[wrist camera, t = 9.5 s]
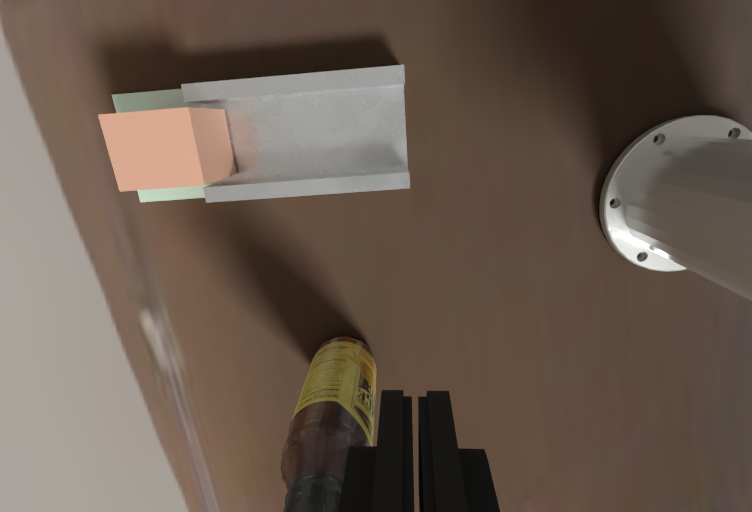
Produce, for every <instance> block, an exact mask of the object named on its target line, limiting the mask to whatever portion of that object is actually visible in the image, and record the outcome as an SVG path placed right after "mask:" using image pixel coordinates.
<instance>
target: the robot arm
mask: <svg viewBox="0 0 752 512" xmlns="http://www.w3.org/2000/svg"><path fill="white" fill-rule="evenodd" d="M654 137H655V139H654ZM653 139H654V141H653ZM611 200H612V202H611V203H610V201H611ZM599 213H600V222H601V226H602V229H603V232H604V234H605V236H606V238H607V240H608V242H609V244H610V245H611V246H612V247H613V248H614V249H615V250H616V252H617V253H619V254H620V255H621V256H623V257H624V258H626V259H627V260H629V261H630V262H632V263H634V264H636V265H638V266H641V267H644V268H647V269H650V270H656V271H664V272H667V271H681V270H685V269H689V270H691V271H693V272H695V273H697V274H699V275H701V276H703V277H705V278H707V279H709V280H711V281H713V282H715V283H717V284H719V285H721V286H723V287H725V288H727V289H729V290H731V291H733V292H735V293H737V294H739V295H741V296H743V297H745V298H747V299H749V300H751V301H752V132H751V131H750V130H748V129H747V128H746V127H745V126H744V125H742V124H740V123H738V122H736V121H734V120H732V119H728V118H724V117H720V116H713V115H695V116H683V117H680V118H676V119H672V120H668V121H666V122H664V123H661V124H659V125H657V126H655V127H653V128H651V129H649V130H648V131H646V132H645V133H643V134H642V135H640V136H639V137H637V138H636V139H635V140H634V141H633V142H632V143H631V144H630V145H629V146H628V147H627V148H625V149H624V151H623V152H622V153H621V154H620V156H619V157H618V158H617V160H616V161H615V162H614V164H613V166H612V167H611V169H610V171H609V173H608V175H607V176H606V179H605V182H604V185H603V188H602V191H601V197H600V203H599ZM418 409H419V508H420V512H500V509H499V505H498V501H497V497H496V493H495V489H494V484H493V480H492V476H491V472H490V468H489V464H488V460H487V456H486V453H485V451H484V449H458V445H457V439H456V433H455V426H454V420H453V414H452V407H451V401H450V395H449V391H427V397H419V399H418ZM338 512H414V479H413V434H412V397H408V396H403V390H382V393H381V405H380V416H379V428H378V439H377V446H350V447H349V451H348V456H347V461H346V467H345V473H344V479H343V485H342V490H341V496H340V502H339V508H338Z"/></svg>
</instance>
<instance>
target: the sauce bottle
mask: <svg viewBox="0 0 752 512" xmlns="http://www.w3.org/2000/svg"><path fill="white" fill-rule="evenodd" d="M375 389H376V365H375V361H374V357H373V355H372V352H371V351H370V349H369V348H368V346H367V345H365V344H364V343H363V342H361V341H358V340H356V339H354V338H351V337H336V338H334V339H330V340H329V341H326V342H324V343H323V344H322V345H321V346H320V348H319V350H318V351H317V353H316V354H315V356H314V358H313V360H312V363H311V366H310V368H309V371H308V374H307V377H306V380H305V383H304V386H303V389H302V391H301V394H300V397H299V400H298V403H297V406H296V409H295V412H294V415H293V417H292V420H291V423H290V427H289V434H288V437H287V440H286V443H285V445H284V448H283V452H282V459H281V472H282V477H283V481H284V482H285V483H286V488H287V490H288V492H287V494H286V498H285V508H284V512H338V508H339V502H340V496H341V490H342V485H343V479H344V473H345V467H346V461H347V456H348V451H349V447H350V446H373V430H374V409H375Z"/></svg>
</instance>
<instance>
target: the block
mask: <svg viewBox="0 0 752 512" xmlns="http://www.w3.org/2000/svg"><path fill="white" fill-rule="evenodd" d="M98 116H99V120H100V123H101V127H102V131H103V134H104V138H105V141H106V145H107V148H108V152H109V155H110V159H111V162H112V166H113V169H114V173H115V176H116V180H117V184H118V187H119V191H120V192H121V191H134V190H148V189H161V188H175V187H188V186H202V185H207V184H210V183H213V182H215V181H218V180H221V179H224V178H227V177H230V176H232V175H235V174H236V169H235V163H234V158H233V153H232V147H231V142H230V137H229V131H228V126H227V120H226V115H225V110H224V109H208V108H193V107H184V108H172V109H160V110H148V111H137V112H125V113H113V114H101V115H98Z"/></svg>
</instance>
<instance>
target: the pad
mask: <svg viewBox="0 0 752 512" xmlns="http://www.w3.org/2000/svg"><path fill="white" fill-rule="evenodd" d="M112 98H113V102H114V106H115V109H116V113H125V112H137V111H148V110H160V109H172V108H184V107H193V108H201V104H200V103H189V102H184V97H183V93H182V89H172V90H160V91H149V92H137V93H126V94H115V95H112ZM214 183H217V182H216V181H215V182H213V183H210V184H207V185H202V186H188V187H175V188H161V189H148V190H137V191H138V195H139V199H140V202H151V201H165V200H179V199H192V198H205V195H204V190H203V187H206V186H208V185H211V184H214Z"/></svg>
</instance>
